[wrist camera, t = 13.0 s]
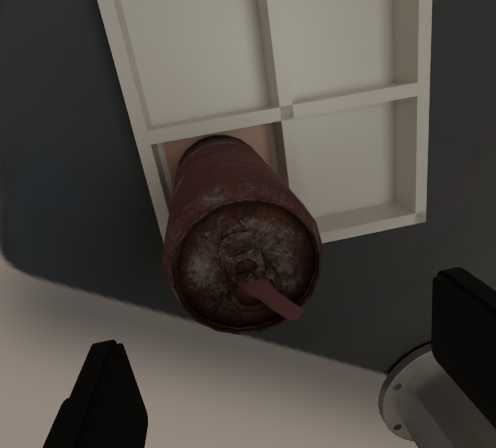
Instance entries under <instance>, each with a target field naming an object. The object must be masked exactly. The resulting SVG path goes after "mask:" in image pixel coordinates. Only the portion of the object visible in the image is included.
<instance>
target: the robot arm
mask: <svg viewBox="0 0 496 448" xmlns="http://www.w3.org/2000/svg"><path fill="white" fill-rule="evenodd" d="M379 410H380V414H381V416H382V418H383V420H384V422H385V423H386V425H387V426H388V428H389V429H390V430H391V431H392V432H393V433H394V434H395V435H397V436H399V437H401V438H403V439H407V440H410V441H415V443H416V445H417V446H418V448H496V291H495V290H494V289H492V288H491V287H489V286H488V285H486V284H485V283H483V282H482V281H480V280H479V279H477V278H476V277H474V276H473V275H472V274H470V273H469V272H467V271H466V270H464V269H463V268H460V267H456V268H451V269H446V270H442V271H439V272H438V274H437V277H434V279H433V294H432V340H431V344H428V345H425V346H423V347H421V348H419V349H417V350H415V351H413V352H412V353H411V354H409V355H408V356H406V357H405V358H404V359H402V360H401V361H400V362H399V363H398V364H397V365H396V366H395V367H394V368H393V370H392V371H391V372H390V373H389V375H388V376H387V378H386V380H385V382H384V384H383V385H382V388H381V391H380V394H379ZM147 428H148V416H147V411H146V409H145V405H144V403H143V400H142V397H141V394H140V391H139V388H138V386H137V383H136V380H135V377H134V374H133V371H132V368H131V365H130V363H129V360H128V357H127V354H126V351H125V348H124V346H123V344H121V343H119V344H117V343H116V341H115V340H108V341H104V342H99V343H95V344H93V345H92V346H91V348H90V350H89V353H88V355H87V358H86V360H85V362H84V364H83V367H82V369H81V371H80V374H79V376H78V379H77V381H76V383H75V386H74V388H73V390H72V393H71V395H70V397H69V398H67V399H66V400H65V401H64V402H63V403H62V405H61V407H60V409H59V412H58V414H57V416H56V418H55V421H54V423H53V425H52V428H51V430H50V432H49V434H48V437H47V439H46V441H45V443H44V446H43V448H144V447H145V440H146V433H147Z"/></svg>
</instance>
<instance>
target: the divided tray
mask: <svg viewBox="0 0 496 448" xmlns="http://www.w3.org/2000/svg"><path fill="white" fill-rule="evenodd" d="M97 1H98V5H99V8H100V12H101V16H102V19H103V23H104V27H105V30H106V34H107V38H108V41H109V45H110V49H111V52H112V56H113V60H114V63H115V67H116V71H117V74H118V78H119V82H120V85H121V89H122V93H123V96H124V100H125V104H126V107H127V111H128V115H129V118H130V122H131V126H132V129H133V133H134V137H135V140H136V144H137V148H138V151H139V155H140V159H141V162H142V166H143V170H144V173H145V177H146V181H147V184H148V188H149V192H150V195H151V199H152V203H153V206H154V210H155V214H156V217H157V221H158V225H159V228H160V232H161V236H162V239H163V243H164V240H165V234H166V229H167V223H168V217H169V211H170V206H171V200H172V194H173V188H174V183H175V177H176V172H177V168H178V164H179V161H180V159H181V158H182V156H183V155H184V153H185V152H186V150H187V149H188V148H189V147H190V146H192V145H193V144H194V143H195V142H197V141H198V140H200V139H203V138H206V137H209V136H211V135H229V136H232V137H235V138H239V139H241V140H242V141H244V142H245V143H247V144H248V145H249V146H251V147H252V148H253V149H254V150H255V151H256V152H257V153H258V155H259V156H260V157H261V158H262V159H263V160H264V161H265V162H266V163H267V164H268V166H269V167H270V168H271V169H272V170H273V171H274V172H275V173H276V174H277V175H278V177H279V178H280V179H281V180H282V181H283V182H284V183H285V184H286V185H287V186H288V188H289V189H290V190H291V191H292V192H293V193H294V194H295V195H296V196H297V198H298V199H299V200H300V201H301V202H302V203H303V204H304V206H305V207H306V209H307V210H308V211H309V213H310V214H311V215H312V217H313V218H314V219H315V221H316V223H317V227H318V230H319V234H320V237H321V241H322V243H326V242H331V241H336V240H341V239H345V238H350V237H355V236H360V235H364V234H369V233H374V232H379V231H384V230H388V229H393V228H398V227H403V226H407V225H412V224H417V223H422V222H426V197H427V162H428V126H429V91H430V56H431V20H432V0H97Z"/></svg>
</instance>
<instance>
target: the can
mask: <svg viewBox="0 0 496 448" xmlns="http://www.w3.org/2000/svg"><path fill="white" fill-rule="evenodd" d="M321 254H322V241H321V237H320V234H319V230H318V227H317V223H316V221H315V219H314V218H313V217H312V215H311V214H310V213H309V211H308V210H307V209H306V207H305V206H304V204H303V203H302V202H301V201H300V200H299V199H298V198H297V196H296V195H295V194H294V193H293V192H292V191H291V190H290V189H289V188H288V186H287V185H286V184H285V183H284V182H283V181H282V180H281V179H280V178H279V177H278V175H277V174H276V173H275V172H274V171H273V170H272V169H271V168H270V167H269V166H268V164H267V163H266V162H265V161H264V160H263V159H262V158H261V157H260V156H259V155H258V153H257V152H256V151H255V150H254V149H253V148H252V147H251V146H249V145H248V144H247V143H245V142H244V141H242V140H241V139H239V138H235V137H232V136H229V135H211V136H209V137H206V138H203V139H200V140H198V141H197V142H195V143H194V144H193V145H192V146H190V147H189V148H188V149H187V150H186V152H185V153H184V155H183V156H182V158H181V159H180V161H179V164H178V168H177V172H176V177H175V183H174V188H173V194H172V200H171V206H170V211H169V217H168V223H167V229H166V234H165V240H164V246H163V251H162V260H163V270H164V278H165V280H166V282H167V284H168V286H169V288H170V290H171V292H172V294H173V296H174V298H175V299H176V300H177V301H178V302H179V303H180V304H181V306H182V308H183V309H184V310H185V311H187V312H188V313H189V314H190V315H191V316H192V317H193V318H194V319H195V320H196V321H197V322H199V323H201V324H203V325H205V326H207V327H209V328H211V329H213V330H215V331H220V332H226V333H232V334H247V333H257V332H262V331H264V330H267V329H270V328H272V327H275V326H278V325H280V324H282V323H283V322H285V321H286V320H287V319H288V320H296V319H299V318H300V317H301V316H302V315H303V313H304V304H305V303H306V302H307V300H308V299H309V298H310V297H311V295H312V293H313V291H314V288H315V286H316V283H317V281H318V278H319V276H320V266H321Z"/></svg>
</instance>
